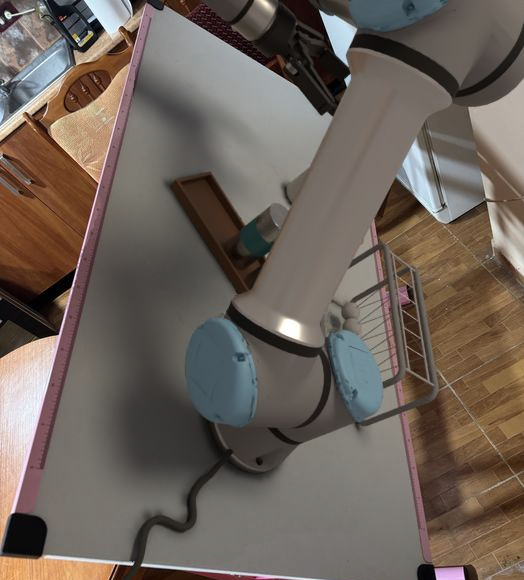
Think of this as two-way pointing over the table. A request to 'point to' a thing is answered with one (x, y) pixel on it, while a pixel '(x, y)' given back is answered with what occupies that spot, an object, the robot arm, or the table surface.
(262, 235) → the tray can
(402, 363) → the newton's cradle
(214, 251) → the can tray
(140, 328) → the table surface
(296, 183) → the beverage can
